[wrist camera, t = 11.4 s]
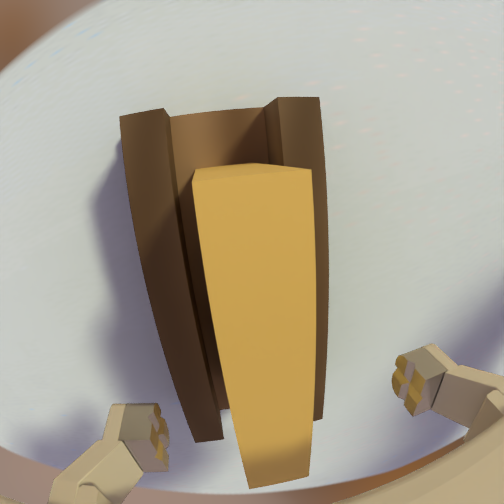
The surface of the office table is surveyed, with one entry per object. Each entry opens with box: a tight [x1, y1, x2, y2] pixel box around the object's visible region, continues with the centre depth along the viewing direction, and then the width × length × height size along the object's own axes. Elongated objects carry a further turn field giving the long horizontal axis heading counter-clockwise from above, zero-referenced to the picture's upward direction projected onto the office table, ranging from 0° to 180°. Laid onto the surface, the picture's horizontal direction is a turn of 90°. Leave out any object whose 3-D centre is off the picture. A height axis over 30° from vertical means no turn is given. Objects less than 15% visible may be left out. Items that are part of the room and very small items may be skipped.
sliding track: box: [119, 97, 329, 443], centre depth 17 cm, size 10×20×4 cm, turn 5°
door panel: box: [192, 163, 316, 489], centre depth 14 cm, size 3×14×9 cm, turn 5°
